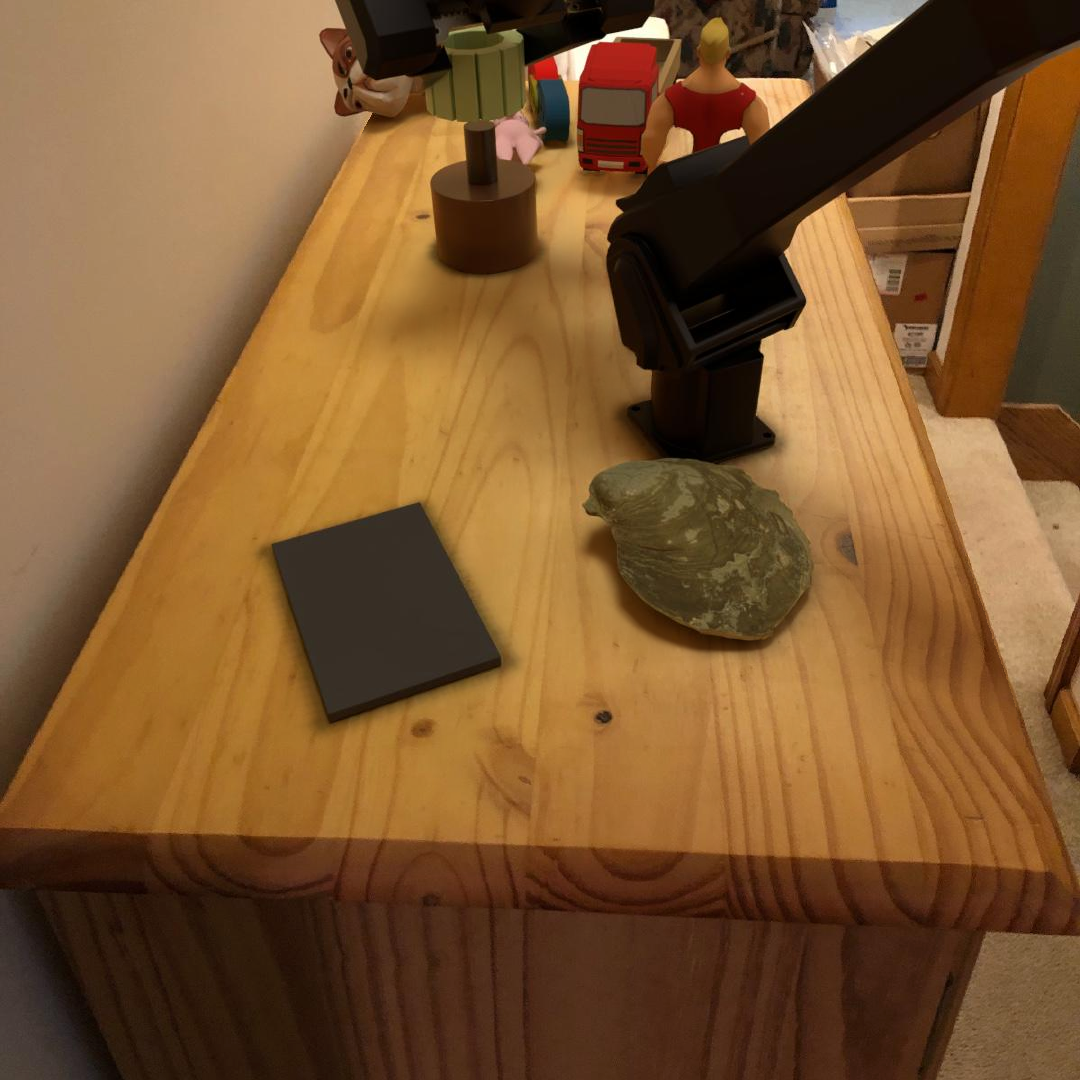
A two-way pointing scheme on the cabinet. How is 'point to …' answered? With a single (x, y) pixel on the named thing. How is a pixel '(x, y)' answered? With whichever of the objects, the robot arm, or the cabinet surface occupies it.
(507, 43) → the ring
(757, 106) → the action figure
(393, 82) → the figurine
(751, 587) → the seashell
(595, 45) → the toy truck
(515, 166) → the stand
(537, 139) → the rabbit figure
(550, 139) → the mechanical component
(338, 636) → the pad
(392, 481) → the cabinet surface
